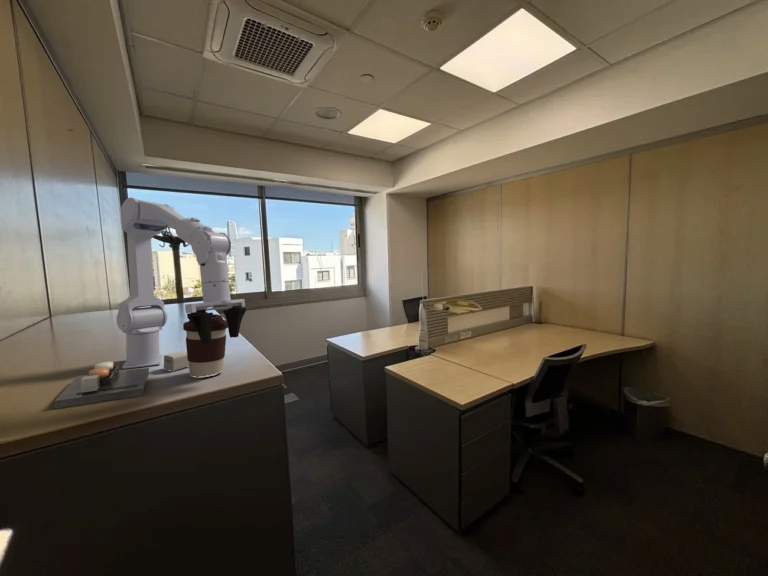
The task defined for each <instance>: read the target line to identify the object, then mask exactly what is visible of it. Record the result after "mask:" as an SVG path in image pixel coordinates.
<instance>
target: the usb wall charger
mask: <svg viewBox="0 0 768 576" xmlns="http://www.w3.org/2000/svg"><path fill="white" fill-rule="evenodd" d="M187 366H189V361H188V359H187V351H186V352H185V351H178V352H174V353H169V354H164V356H163V369H164V370H165V369H166V370H165V371H167V370H171V371H174V372H176V371H175V370H177V371H179V370H178V369H181V368H184V367H187ZM181 370H182V369H181ZM171 371H170V372H171Z"/></svg>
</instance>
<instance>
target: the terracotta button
mask: <svg viewBox="0 0 768 576" xmlns="http://www.w3.org/2000/svg"><path fill="white" fill-rule="evenodd" d="M92 369H93V368H92ZM92 369H90V370H88V374H89V376H94V375H99V379H102V378H106V377H108V376H109V368H97V369H93V370H92Z"/></svg>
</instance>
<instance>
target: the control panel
mask: <svg viewBox="0 0 768 576" xmlns="http://www.w3.org/2000/svg"><path fill="white" fill-rule="evenodd" d="M93 369H95V367H93V368H92V369H91V370H93ZM149 375H150V368H149V367H148V368H147V367H146V368H145V367H144V368H136V369H128V370H120V365H113V370H111V371H109V376H108V377H106V378H102V379H99V389H98V390H97V391H90V392H83V393H81V379H82V378H83V377H85V376H89V373H88V374H83V375H77V376H76V377H75V378H74V380H72V381H71V383H70V384H69V385H68V386H67V387H66V388H65V389H64V390H63V391H62V392H61V394H59V396H58V397H57V398H55V400H54V410H56V409H63V408H69V407H75V406H81V405H88V404H94V403H95V404H96V403H102V402H109V401H115V400H122V399H127V398H128V399H129V398H133V397H141V396H143V395H144V394H143V393H144V391H145V387H146V385H147V381H148V379H149Z"/></svg>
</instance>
